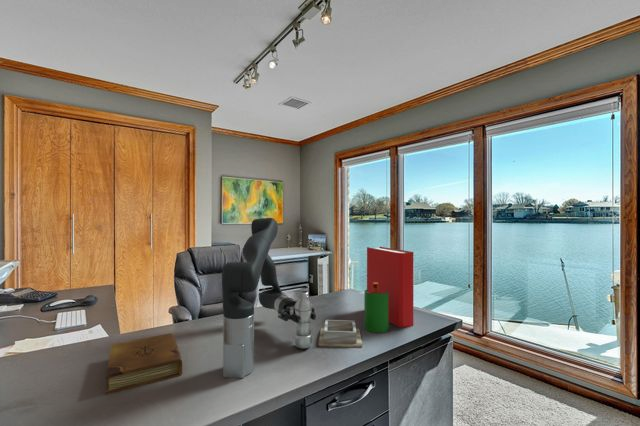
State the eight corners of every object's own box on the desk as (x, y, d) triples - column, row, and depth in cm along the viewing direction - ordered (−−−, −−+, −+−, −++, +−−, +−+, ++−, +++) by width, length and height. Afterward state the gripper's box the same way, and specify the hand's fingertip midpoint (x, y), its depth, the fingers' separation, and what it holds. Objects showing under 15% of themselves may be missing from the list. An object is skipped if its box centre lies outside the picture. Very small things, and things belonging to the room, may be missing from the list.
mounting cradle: (362, 347, 110) (362, 334, 110) (318, 346, 111) (318, 333, 111) (359, 330, 126) (359, 319, 126) (320, 329, 127) (321, 318, 127)
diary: (182, 377, 91) (182, 358, 91) (105, 396, 81) (106, 375, 81) (173, 348, 110) (173, 332, 110) (111, 360, 101) (111, 343, 101)
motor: (387, 325, 133) (387, 279, 133) (390, 333, 124) (390, 284, 124) (364, 324, 134) (364, 279, 134) (365, 332, 125) (365, 283, 125)
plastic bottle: (296, 351, 106) (296, 294, 107) (292, 344, 113) (293, 290, 113) (314, 349, 108) (314, 293, 108) (309, 342, 115) (309, 289, 115)
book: (366, 309, 155) (366, 247, 156) (379, 307, 158) (380, 246, 159) (400, 327, 130) (400, 253, 130) (415, 325, 133) (415, 252, 134)
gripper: (270, 299, 119) (288, 311, 105) (302, 294, 127) (323, 305, 112) (269, 319, 119) (288, 333, 105) (302, 312, 127) (323, 325, 112)
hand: (306, 318), depth 109 cm, fingers closed on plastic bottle, 6 cm apart
